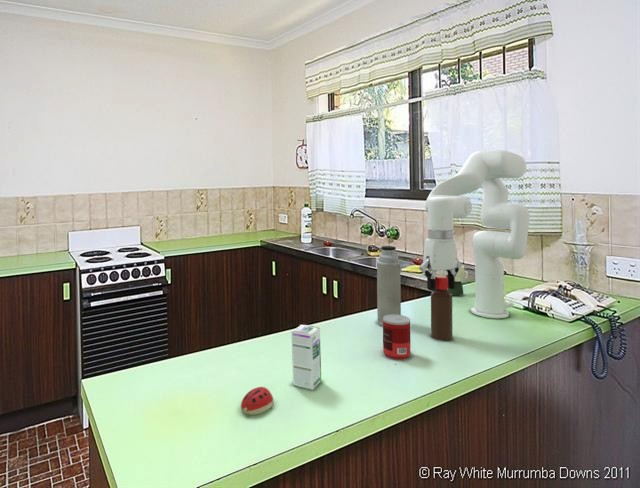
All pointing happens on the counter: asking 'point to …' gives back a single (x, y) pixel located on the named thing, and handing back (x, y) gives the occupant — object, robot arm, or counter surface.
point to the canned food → (396, 336)
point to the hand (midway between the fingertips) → (440, 288)
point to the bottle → (441, 315)
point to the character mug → (458, 281)
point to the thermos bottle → (388, 284)
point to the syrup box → (306, 356)
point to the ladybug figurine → (257, 401)
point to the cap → (441, 282)
